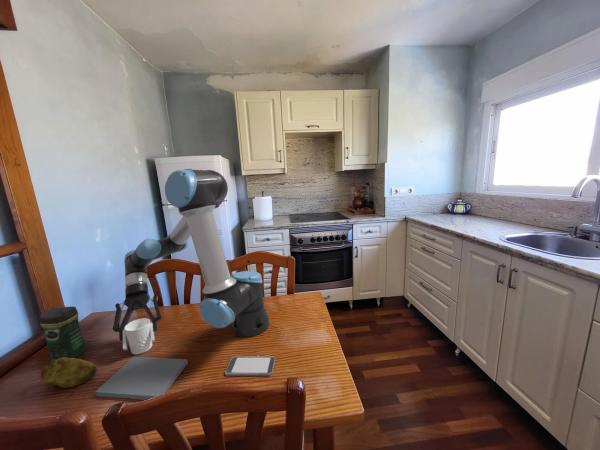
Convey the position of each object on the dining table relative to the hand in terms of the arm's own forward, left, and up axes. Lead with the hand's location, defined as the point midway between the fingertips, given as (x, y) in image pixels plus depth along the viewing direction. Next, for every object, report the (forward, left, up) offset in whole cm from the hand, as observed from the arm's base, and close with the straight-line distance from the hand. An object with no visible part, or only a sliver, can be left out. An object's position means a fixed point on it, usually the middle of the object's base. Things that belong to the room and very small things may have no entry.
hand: (139, 345), depth 86 cm
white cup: (+2, -3, -4) cm, 5 cm away
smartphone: (-42, +3, -4) cm, 42 cm away
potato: (+13, +13, -4) cm, 19 cm away
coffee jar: (+27, +2, -4) cm, 27 cm away
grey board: (-10, +10, -4) cm, 15 cm away
